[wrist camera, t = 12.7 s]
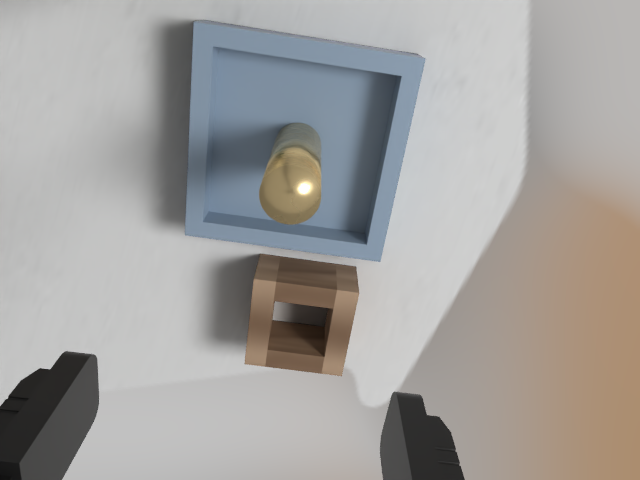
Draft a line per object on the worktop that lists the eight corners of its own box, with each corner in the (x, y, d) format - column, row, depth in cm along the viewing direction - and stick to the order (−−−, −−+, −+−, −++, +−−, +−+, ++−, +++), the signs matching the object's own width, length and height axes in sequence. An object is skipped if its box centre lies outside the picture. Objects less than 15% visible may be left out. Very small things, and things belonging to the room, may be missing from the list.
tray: (204, 19, 33) (193, 21, 30) (417, 53, 34) (425, 58, 31) (194, 218, 39) (184, 235, 36) (376, 244, 40) (380, 261, 37)
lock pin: (278, 118, 35) (263, 160, 26) (325, 127, 35) (326, 172, 26) (271, 163, 36) (254, 218, 27) (316, 171, 36) (315, 229, 27)
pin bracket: (260, 253, 40) (253, 279, 36) (356, 266, 41) (359, 293, 37) (251, 333, 43) (244, 363, 40) (340, 344, 44) (341, 376, 40)
